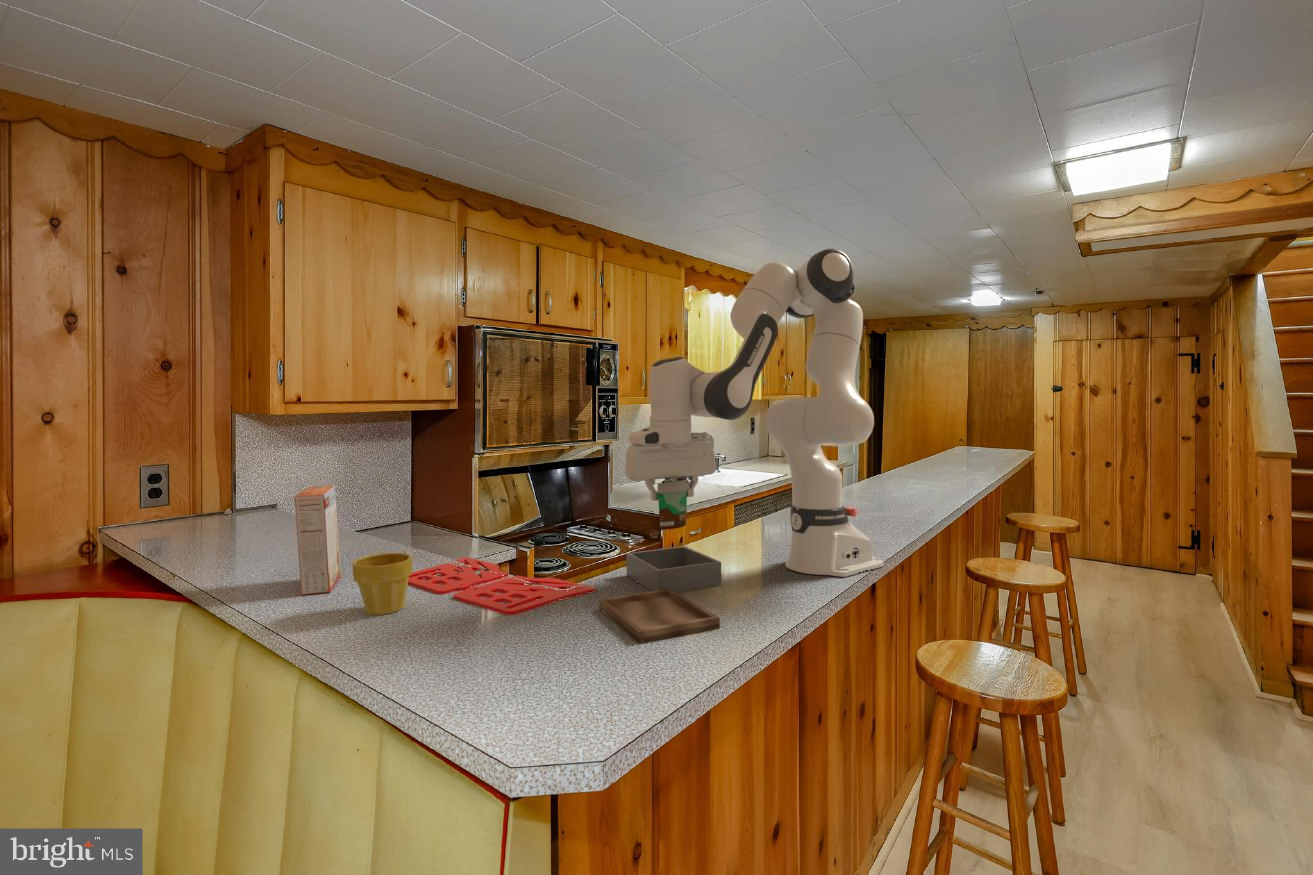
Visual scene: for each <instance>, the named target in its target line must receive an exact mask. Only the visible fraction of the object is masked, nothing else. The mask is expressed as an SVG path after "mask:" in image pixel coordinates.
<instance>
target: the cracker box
mask: <svg viewBox="0 0 1313 875" xmlns="http://www.w3.org/2000/svg"><path fill="white" fill-rule="evenodd" d="M336 492H337V491H336V485H326V486H325V485H322V486H321V485H319V486H318V485H317V486H309V487H307V488H306V489H304V490H303V491H301V492H299V493H297V495H295V496H294V510H295V512H294V513H295V521H296V522H295V525H296V537H297V538H296V539H297V554H298V557H297V558H298V568H299V570H298V571H299V580H300V596H309V594H311V595H318V594H327V593H331V592H332V590H333V588H334V587H335V585H336V584H337V581H338V580H339V578H340V576H341V562H340V561H341V560H340V549H339V548H340V546H339V530H338V526H339V525H338V512H337V496H336Z"/></svg>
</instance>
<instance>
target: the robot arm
mask: <svg viewBox="0 0 1313 875" xmlns="http://www.w3.org/2000/svg"><path fill="white" fill-rule="evenodd" d="M854 292H855V284H854V267H853V264H852V262H851V260H850V258H849V256H848V255H847V254H846V253H844V252H843V251H842V250H839V249H837V248H827V249H823V250H820V251H819V252H817V253H814V254H813V255H811V258H809V259H808V260H807V261H805V262H804V264H802V265H800V267H799V268H798V269H793V268H791V267H790V266H789V265H787V264H785V263H783V262H780V261H779V262H778V261H770V262H768V263H766V264H765V265H763V266H762V267H761V268H760V269H759V270H758V271H757V272H756V273H755V274H754V275H753V276H752V277H751V279H750V280H749V281H748V282H747V284H746V285H745V287H744V288H743V289H742V291H741V292H740V293H739V295H738V296H737V298H736V300H735V301H734V303H733V306H732V308H731V311H730V314H729V315H730V322H731V326H733V328H734V330H735V331H736V333H737V334H738V335H739V336H741V337H742V338H743V342H742V343H741V345H740V347H739V349H738V350H737V353H736V355H735V356H734V359H733V361H732V363H730V365H729V366H728V367H725V369H722V370H720V371H715V372H713V371H712V372H706V371H704V370H701V369H700V368H698V367H696V366H694V365H693V364H692V363H690V362H689V361H688V359H687V358H686V357H683V356H675V357H669V358H664V359H659V360H657V361H655V362H654V363H653V364H652V365H651V368H650V371H649V377H648V378H649V380H648V402H649V405H650V416H649V425H648V426H646V427H644V428H641V429H639V430H636V431H634V432H632V433H629V435H628V442H629V444H631V445H629V447H628V448H627V449H626V454H625V462H624V463H625V466H624V467H625V468H624V471H625V472H624V473H625V476H626V478H627V479H628V480H629V481H633V482H640V481H644V483H645V486H646V487H647V489H648V491H649V493H650V500H651V501H653V502H654V501H655V502H656V501H658V491H657V490H656V488H655V485H656V480H661V479H664V480H665V478H675V477H687V480H688V481H689V484H690V489H688V490H687V498H693V497H694V496H695V490H694V489H695V488H696V486H697V484H698V482H699V476H707V475H708V476H709V475H713V474H714V473H715V472H716V471H717V462H716V455H715V439H714V437H713V436H712V435H711V434H710V433H708V432H707V431H703V432H692V416H694V417H703V418H717V419H722V420H728V421H732V420H738V419H739V418H741V417H743V415H745V413H746V412H747V411H748V410H749V408H750V407H751V404H752V401H753V398H754V393H755V387H756V385H757V382H758V380H759V377H760V375H761V373H762V370H763V368H764V366H765V364H766V362H767V360H768V358H769V355H770V354H771V351H772V349H773V347H774V345H775V342H776V340H777V336H778V333H779V328H778V326H779V323H780V322H781V320H782V318H783V316H784V315H785V313H787V314H788V315H789V316H790V317H793V318H795V319H807V318H810V317H812V316H814V321H815V322H814V323H815V325H814V326H815V328H814V331H813V333H812V337H811V341H810V346H809V351H808V354H807V357H806V362H805V372H806V374H807V376H808V378H809V379H810V380H811V382H813V383H815V384H816V385H817V386H819V392H818V395H817V396H799V397H798V396H796V397H795V396H794V397H793V396H792V397H787V398H783V399H780V400H776V401H774V402H772V403H771V404H770V406H769V407H768V409H767V411H766V413H765V416H764V417H765V418H764V425H765V428H766V432H767V433H768V435H769V437H770V438H771V439H772V440H773V441H775V442H776V443H777V444H778V446H779V447H780V448H781V450H782V452H783V453H784V455H785V457H786V460H787V462H788V465H789V469H790V470H789V471H790V476H791V489H792V490H791V492H792V495H791V496H792V497H791V498H792V499H791V500H792V504H791V505H790V514H789V515H790V526H791V533H790V534H791V536H790V544H789V548H788V553H787V554H788V555H787V558H786V562H785V567H786V568H787V569H789V570H791V571H794V572H798V573H801V574H802V573H803V574H809V575H817V576H834V577H839V578H840V577H841V578H845V577H849V576H853V575H857V574H860V573H859V572H861V573H864V572H866V571H865V570H868V571H871V569H872V570H875V569H878V568H882V567H885V565H884V561H883V560H882V559H880V558H878V557H876V556H874V554H873V553H874V552H873V547H872V542H871V539H870V538H869V537H868V535H866V534H864V533H863V532H862V531H860V530H859V529H858V528H857V527H855V525H853V524H852V523H851V522H850V520H849V518H848V516H849V517H852V518H854V517H857V515H858V513H859V512H858V510H857V508H855V507H851V506H848V507H845V506H844V505H843V474H842V472H841V470H840V468H839V467H838V466H837V465H835V464H834V463H832V462H830V461H829V459H827V457H826V456H825V454H824V452H823V450H822V449H823V448H822V446H826V447H827V446H828V447H830V446H831V447H847V446H854V445H859V444H863V443H865V441H867V440H868V439H869V437H870V436H871V434H872V432H873V429H874V426H875V419H874V418H875V415H874V412H873V410H872V408H871V406H870V405H869V403H868V402H867V401H866V400H864V399H863V398H862V396H861V395H860V394H859V392H858V390H857V387H856V382H855V378H856V377H855V376H856V370H857V369H856V367H857V363H858V357H859V353H860V347H861V344H862V343H861V342H862V339H863V338H862V336H863V329H864V328H863V327H864V313H863V310H862V307H861V306H860V305H859V304H858V303H857V302H856V301H854V300H851V299H850V298H851V297H852V296H853V294H854ZM863 571H864V572H863Z"/></svg>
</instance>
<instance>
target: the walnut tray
mask: <svg viewBox="0 0 1313 875" xmlns="http://www.w3.org/2000/svg"><path fill="white" fill-rule="evenodd" d="M599 608H600V609H601V610H602V611H604V613H606V614H605V615H606V616H607V615H608V616H609V617H610V618H611V619H612V620H614V621H613V623H615V622H616V623H615V625H617V624H618V625H619V626H620V627H619V626H618V625H617V626H618V627H619V628H620V629H622V630H623V629H624V630H623V631H624V632H625V631H626V632H627V633H628V634H627V633H626V632H625V633H626V634H627V635H629V636H630V637H631V638H632V639H633V640H634V641H635V642H637V643H638V644H642V643H647V642H653V641H658V640H664V639H668V638H675V637H679V636H685V635H689V634H694V633H700V632H706V631H712V630H717V629H720V628H721V624H720V623H721V622H720V620H721V619H720V616H717V615H716V614H715V613H713V612H712V611H709V610H708V609H706V608H705V607H702V606H701V605H699V604H698V603H696V602H694V601H693V600H691V599H689V598H687V597H686V596H685V595H682V594H681V593H680V592H676V591H674V590H673V589H671V588H670V589H664V590H657V591H646V592H640V593H632V594H627V595H619V596H612V597H607V598H599V599H598V609H599ZM600 609H599V610H600ZM601 610H600V611H601ZM602 611H601V612H602ZM604 613H603V614H604ZM608 616H607V617H608ZM609 617H608V618H609ZM610 618H609V619H610ZM611 619H610V620H611ZM612 620H611V621H612Z"/></svg>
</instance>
